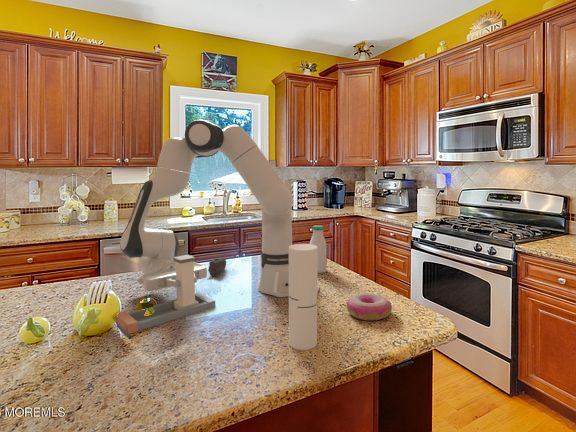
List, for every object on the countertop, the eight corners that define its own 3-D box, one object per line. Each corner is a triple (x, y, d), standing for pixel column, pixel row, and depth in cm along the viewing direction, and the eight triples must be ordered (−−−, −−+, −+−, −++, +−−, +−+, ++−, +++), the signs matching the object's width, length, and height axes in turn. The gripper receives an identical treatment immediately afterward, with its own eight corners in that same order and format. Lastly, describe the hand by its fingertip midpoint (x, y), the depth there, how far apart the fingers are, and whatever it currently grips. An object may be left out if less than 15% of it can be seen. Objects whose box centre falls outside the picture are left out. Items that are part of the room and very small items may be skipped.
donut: (388, 306, 110) (389, 292, 109) (394, 325, 97) (394, 308, 96) (346, 304, 112) (346, 289, 111) (346, 321, 99) (346, 305, 98)
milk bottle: (325, 273, 144) (326, 227, 142) (307, 272, 146) (307, 227, 143) (327, 268, 152) (327, 224, 149) (310, 267, 153) (310, 224, 151)
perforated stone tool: (219, 268, 154) (219, 253, 153) (230, 268, 153) (230, 253, 152) (205, 278, 139) (204, 262, 138) (217, 279, 138) (217, 262, 137)
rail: (199, 302, 114) (199, 290, 113) (215, 311, 106) (215, 299, 106) (116, 326, 96) (115, 313, 95) (128, 339, 89) (127, 324, 88)
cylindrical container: (298, 333, 92) (298, 242, 88) (321, 340, 88) (322, 246, 84) (283, 344, 86) (282, 247, 82) (307, 352, 82) (307, 251, 78)
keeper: (190, 302, 109) (188, 254, 107) (198, 307, 105) (196, 257, 103) (174, 307, 105) (171, 257, 103) (182, 313, 101) (179, 260, 99)
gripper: (134, 269, 106) (151, 280, 96) (194, 258, 119) (215, 266, 109) (135, 289, 106) (153, 301, 96) (195, 275, 120) (215, 284, 110)
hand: (186, 282), depth 103 cm, fingers closed on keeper, 4 cm apart
